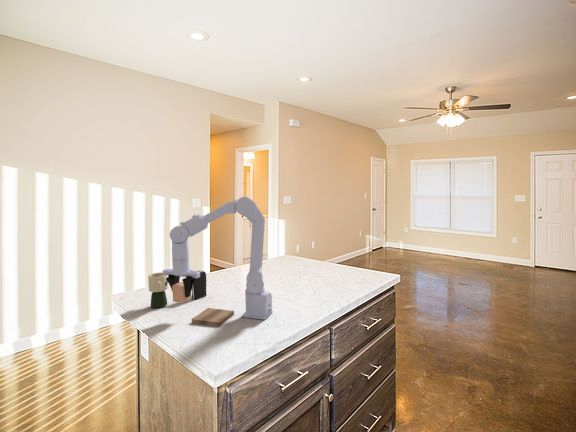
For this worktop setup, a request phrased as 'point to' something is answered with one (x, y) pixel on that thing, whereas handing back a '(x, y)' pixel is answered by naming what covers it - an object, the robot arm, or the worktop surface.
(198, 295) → the battery charger
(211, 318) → the walnut board
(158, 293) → the character mug
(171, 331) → the worktop surface
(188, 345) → the worktop surface
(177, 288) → the terracotta block
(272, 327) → the worktop surface
